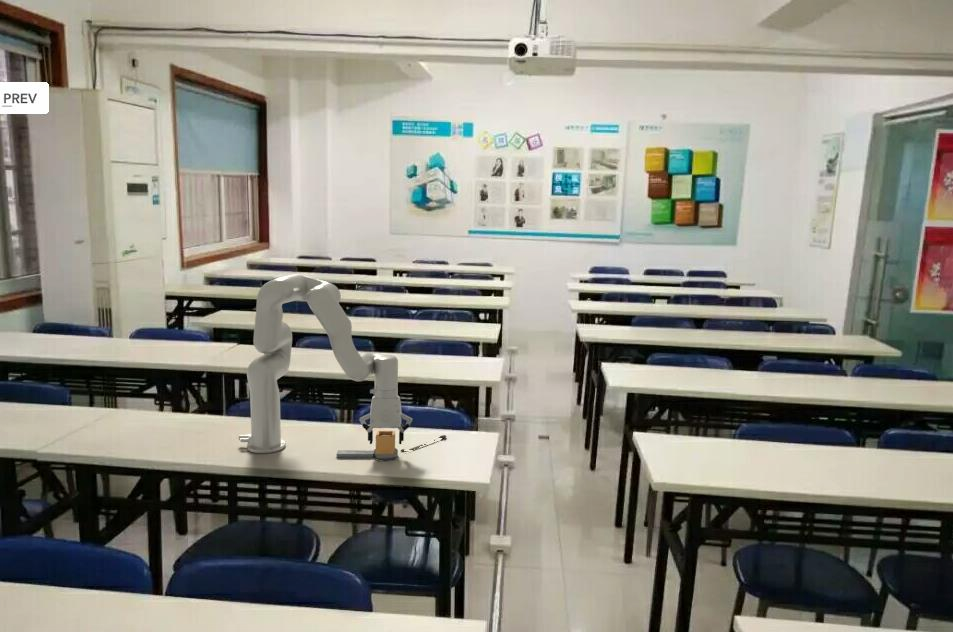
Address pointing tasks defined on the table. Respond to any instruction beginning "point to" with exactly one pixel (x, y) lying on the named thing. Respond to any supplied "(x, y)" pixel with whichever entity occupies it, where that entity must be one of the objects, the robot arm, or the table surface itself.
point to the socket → (385, 442)
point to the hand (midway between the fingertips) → (385, 442)
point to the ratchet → (367, 454)
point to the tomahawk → (424, 444)
